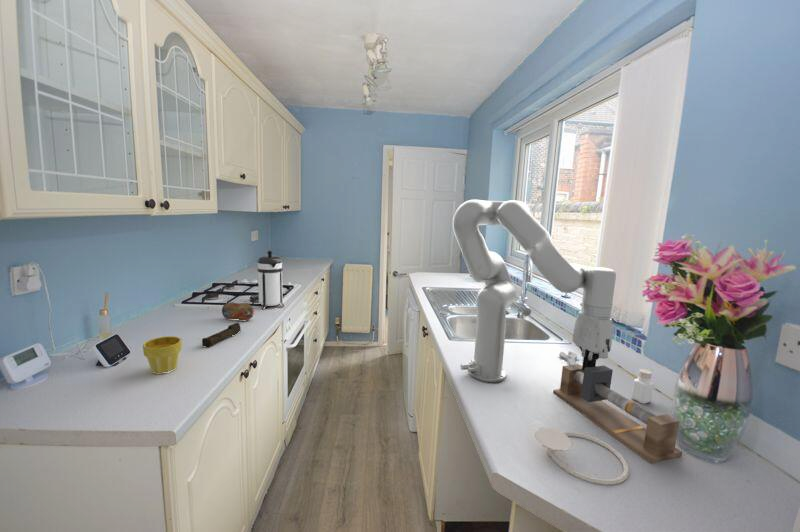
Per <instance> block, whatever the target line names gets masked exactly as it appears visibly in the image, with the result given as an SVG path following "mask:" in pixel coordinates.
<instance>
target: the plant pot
mask: <svg viewBox="0 0 800 532" xmlns="http://www.w3.org/2000/svg"><path fill="white" fill-rule="evenodd" d="M182 342H183V341H182V338H180V337H179V336H174V335H170V336H169V335H168V336H166V335H165V336H160V337H154V338H151V339H149V340H147V341H145V342H144V343H143V345H142V350H143V356H144V357H145V358H147V362H148V364H149V367H150V370H151V372H155V373H163V372H168V371H171V370H173V369H175V368H176V369H177V366H178V361H179V356H180V351H182V348H183V345H182ZM176 369H175V370H176Z"/></svg>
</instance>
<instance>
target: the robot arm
mask: <svg viewBox="0 0 800 532" xmlns="http://www.w3.org/2000/svg"><path fill="white" fill-rule="evenodd" d="M479 226H499V227H503V228H504V229H505V230H506V231H507V232H508V233H509V234H510V236H512V237H513V239H514V241H516V242H517V243H518V244H519V245H520V246H521V248H523V250H524V251H525V252H526V254H527V256H528V257H529V259H530V260H531V262H532V263H533V265H534V266H535V268H536V269H537V270H538V271H539V273H540V274H541V275H542V276H543V277H544V278H545V279H546V280H547V281H548V282H549V284H550V285H552V286H553V288H555V289H556V290H557V291H559V292H561V293H565V294H571V293H574V292H576V291H577V290H579V289H583V291H582V299H581V301H580V304H579V305H580V307H581V308H580V311H579V312H578V313H577V314H576V315H577V316H576V318H575V321H574V327H573V331H572V340H571V341H572V342H573V344H575V346H577V347H578V348H579V350H580V352H581V356H582V358H583V359H582V365H581V366H582V370H583V371H584V369H585V368H586V367H595V366H597V365H596V364H597V361H598V360H600V359H608V358H609V353H610V352H611V349H612V345H613V319H612V318H611V317H612V316H611V315H612V309H613V303H614V295H615V287H616V278H617V273H616V271H615V270H614V269H611V268H609V267H600V266H588V265H583V264H579V263H572V262H571V263H569V262H568V261H567V259H565V257H563V256H562V254H561V253H560V252H559V250H557V248H556V246H555V245H554V242H553V241H552V237H551V235H550V233H549V231H548V230H547V229H546V228H545V227H544V226H543V225H542V224H541V223H540V222H539V221H538V220H537V218H535V216H533V214H531V209H530V207H529V206H528V204H527V203H526V202H523V201H521V200H514V199H510V200H506V201H505V200H504V201H503V200H482V199H470V200H466V201H465V202H463V203H461V204H460V205H459V206H458V208H457V209H456V211H455V213H454V215H453V218H452V230H453V233H454V236H455V239H456V241H457V243H458V246H459V248H460V250H461V251H460V252H461V254H462V257H463V260H464V262H465V265H466V267H467V271H468V273H469V275H470V277H471V279H473V280H474V281H475V282H479V283H483V282H484V284H485V286H483V287H482V288H481V289H480V290H479V291H478V293H477V297H476V302H475V303H476V328H475V329H476V330H475V343H474V344H475V345H474V354H473V355H474V356H473V359H470V362H468V363H461V364H460V366H459V367H460V370H461V371H465V370H467V373H468V374H469V375H470V376H471V377H472V378H474V379H476V380H478V381H482V382H486V383H500V382H503V381H504V380H505V379H507V372H506V370H504V369H503V365H504V364H503V361H504V351H505V350H504V349H505V340H506V330H507V316H506V312H507V311H506V310H507V308H508V307H509V306H510V305H512V304H513V302H514V301H515V300H516V299H515V298H516V294H517V293H516V292H517V291H516V288H515V285H514V282H513V279H512V277H511V275H510V272H509V270H508V267H507V265H506V262H505V261H504V259H503V258H502V257H501V255H500V254H498V253H497V252H495V251H490V250H489V248H488V246H487V244H486V240H485V238H484V236H483V234H482V233H481V231H480V229H479Z"/></svg>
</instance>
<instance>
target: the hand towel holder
mask: <svg viewBox="0 0 800 532" xmlns="http://www.w3.org/2000/svg"><path fill="white" fill-rule="evenodd" d="M570 437H573V438H574V437H575V438H581V439H584V440H588V441H591V442H594V443H596V444H598V445H600V446H602V447H603V446H604V448H605V449H607V450H608V449H609V450H608V451H609V452H611V453H612V454H614V455H615V456H616V457H617V459H619V460H620V462H621V464H622V467H623V472H622V474H621V475H620V476H619V477H617V478H613V479H603V478H596V477H591V476H588V475H585V474H583V473H580V472H578V471H577V470H574V469H572V468H570V467H569V466H568V465H566V464H565V463H563V462H562V461H561V460H560V459H559V458H558V457H557V453H556V452H565V451H567V450H569V449H571V448H572V447H573V444H572V439H571V438H570ZM534 438H535V439H536V440H537V442H538V443H539V444H540V445H541V446H542V447H544V448H547V449H546V453H545V454H547V456H549V457H550V458H551V459H552V460H553V462H555V464H556V465H558V466H559V467H560V469H562V470H564V471H565V472H567V473H568V474H570V475H572V476H574V477H576V478H578V479H580V480H582V481H586V482H589V483H593V484H597V485H603V486H605V485H606V486H608V485H610V486H612V485H613V486H614V485H617V484H621V483H622V482H624V481H625V480H627V479H628V477H629V474H630V470H629V466H628V463H627V461H626V460H625V458H624V456H623V455H622V454H621V453H620V452H619V451H618V450H617V449H616V448H614V447H613V446H611V444H608V443H606V442H605V441H602V439H599V438H596V437H594V436H592V435H589V434H586V433H582V432H576V431H575V432H574V431H562V432H561V431H559V430H557V429H555V428H549V427H541V428H539V429H536V430H535V431H534Z"/></svg>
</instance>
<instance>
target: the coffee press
mask: <svg viewBox="0 0 800 532" xmlns="http://www.w3.org/2000/svg"><path fill="white" fill-rule="evenodd" d="M283 262H284V261H283V259H282V257H281V256H279V255H275V254H273V252H272V250H268V251H267V254H266V255H260V256H259V257H258V259H257V260H256V263H257V280H258V282H257V283H258V284H257V285H258V302H259V303H260V304H261V305H260V306H262V307H263V308H264V307H265V306H267V307H274V306H275V307H276V306H279V307H280V308H284V307H285V304H284V302H283V300H284V299H283ZM262 307H261V308H262Z"/></svg>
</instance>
